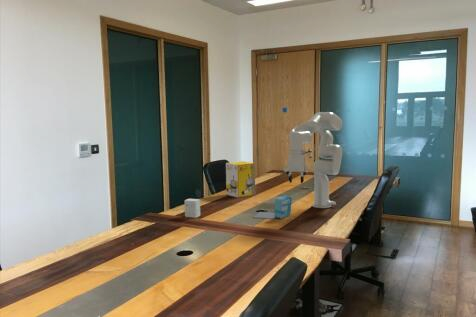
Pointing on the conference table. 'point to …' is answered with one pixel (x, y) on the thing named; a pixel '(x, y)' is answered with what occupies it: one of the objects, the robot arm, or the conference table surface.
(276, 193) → the conference table surface
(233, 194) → the packaging box
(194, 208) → the small box
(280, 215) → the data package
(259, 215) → the felt pad
